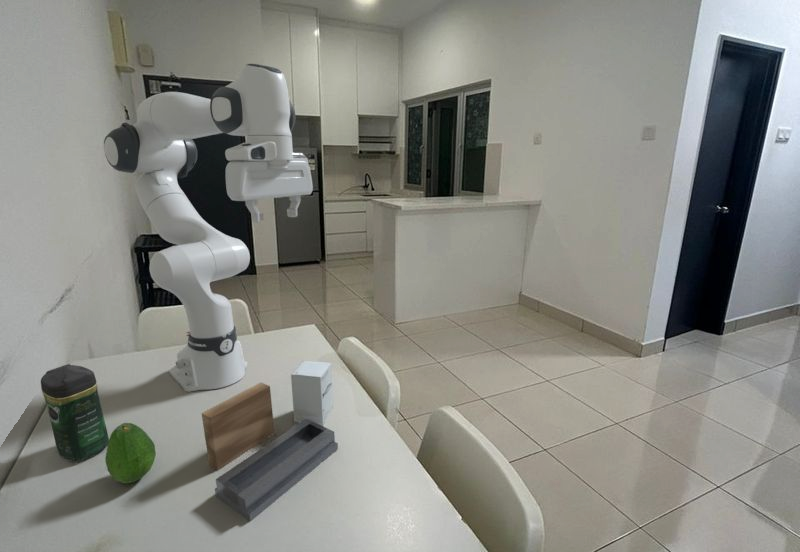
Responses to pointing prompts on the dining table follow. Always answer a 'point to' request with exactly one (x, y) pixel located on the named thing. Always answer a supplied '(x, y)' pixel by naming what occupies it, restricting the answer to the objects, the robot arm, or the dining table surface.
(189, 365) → the robot arm
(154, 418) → the dining table surface
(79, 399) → the coffee jar
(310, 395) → the supplement box
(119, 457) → the avocado
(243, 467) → the tray
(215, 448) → the door panel
